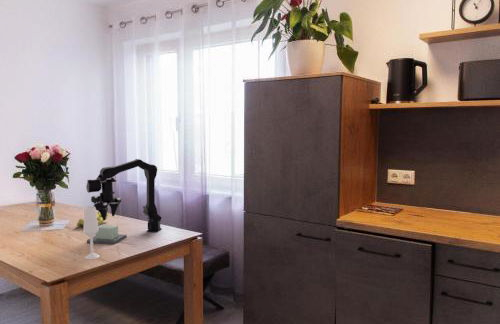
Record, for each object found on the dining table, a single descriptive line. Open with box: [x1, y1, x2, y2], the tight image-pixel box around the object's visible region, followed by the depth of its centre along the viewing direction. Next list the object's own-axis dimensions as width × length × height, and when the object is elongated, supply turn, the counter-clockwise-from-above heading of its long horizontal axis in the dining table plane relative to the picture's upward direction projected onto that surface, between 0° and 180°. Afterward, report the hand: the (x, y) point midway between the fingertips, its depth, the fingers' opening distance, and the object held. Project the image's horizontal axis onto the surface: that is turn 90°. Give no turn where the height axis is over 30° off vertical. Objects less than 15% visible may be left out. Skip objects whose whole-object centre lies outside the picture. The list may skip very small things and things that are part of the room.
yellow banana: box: [76, 211, 110, 228], centre depth 246 cm, size 20×7×10 cm
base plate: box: [86, 233, 128, 245], centre depth 212 cm, size 16×13×4 cm
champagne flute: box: [82, 205, 100, 260], centre depth 184 cm, size 7×7×24 cm
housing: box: [95, 224, 119, 239], centre depth 212 cm, size 10×6×6 cm, turn 79°
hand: (108, 218), depth 214 cm, fingers open, 9 cm apart
